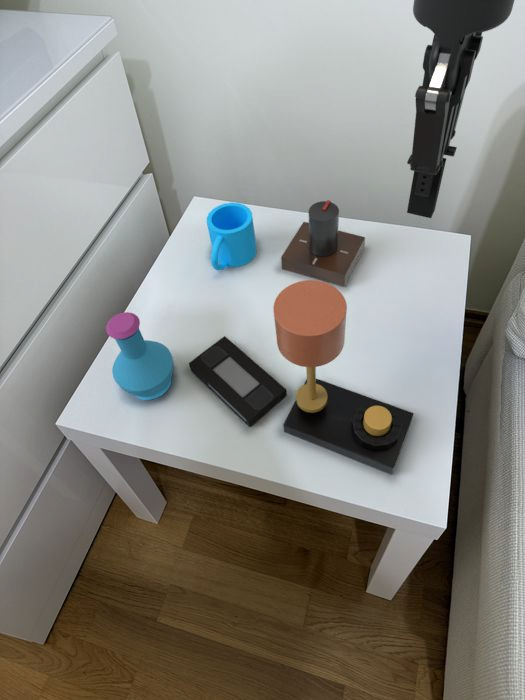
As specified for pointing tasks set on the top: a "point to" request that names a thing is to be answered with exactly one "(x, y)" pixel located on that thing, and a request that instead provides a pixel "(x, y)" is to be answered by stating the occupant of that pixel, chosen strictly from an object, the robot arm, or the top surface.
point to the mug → (231, 235)
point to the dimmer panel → (325, 267)
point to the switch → (377, 420)
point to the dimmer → (323, 228)
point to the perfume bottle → (139, 359)
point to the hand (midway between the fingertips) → (420, 211)
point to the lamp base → (350, 428)
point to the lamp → (310, 333)
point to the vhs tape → (237, 381)
